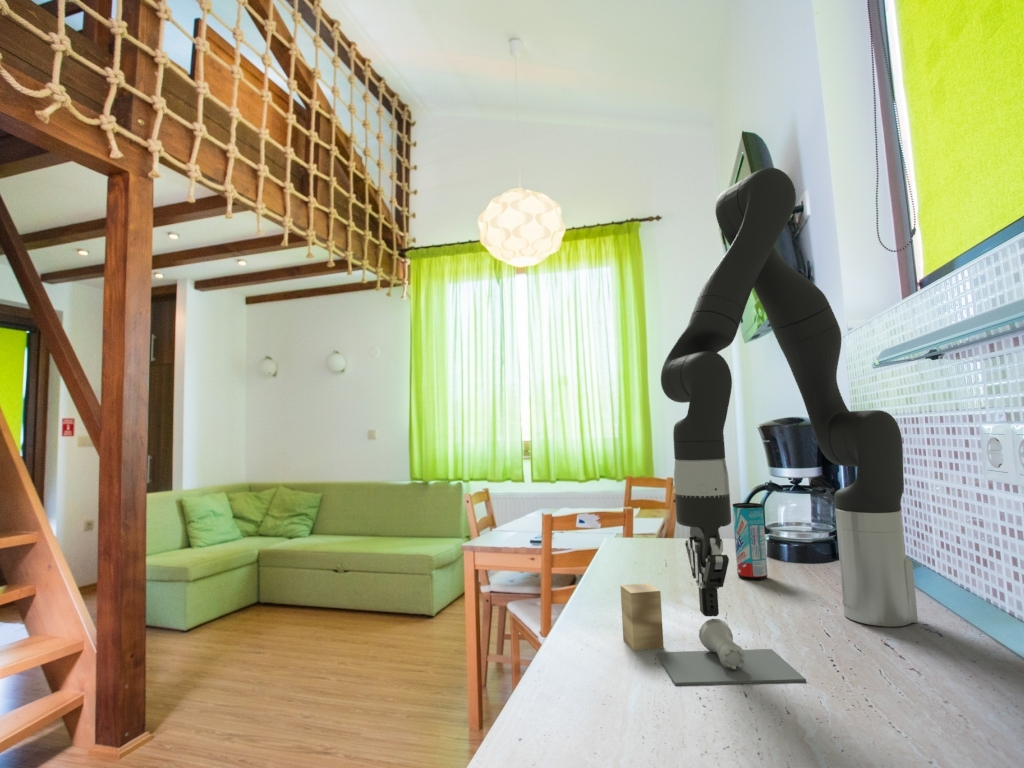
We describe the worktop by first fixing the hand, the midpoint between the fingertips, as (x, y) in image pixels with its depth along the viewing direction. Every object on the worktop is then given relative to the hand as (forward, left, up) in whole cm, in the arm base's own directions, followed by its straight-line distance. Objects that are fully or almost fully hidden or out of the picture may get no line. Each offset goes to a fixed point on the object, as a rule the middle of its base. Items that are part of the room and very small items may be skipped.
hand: (709, 614), depth 82 cm
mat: (0, +6, -5) cm, 8 cm away
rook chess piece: (0, 0, -2) cm, 3 cm away
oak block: (+9, -4, -5) cm, 11 cm away
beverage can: (-21, -40, -5) cm, 45 cm away
